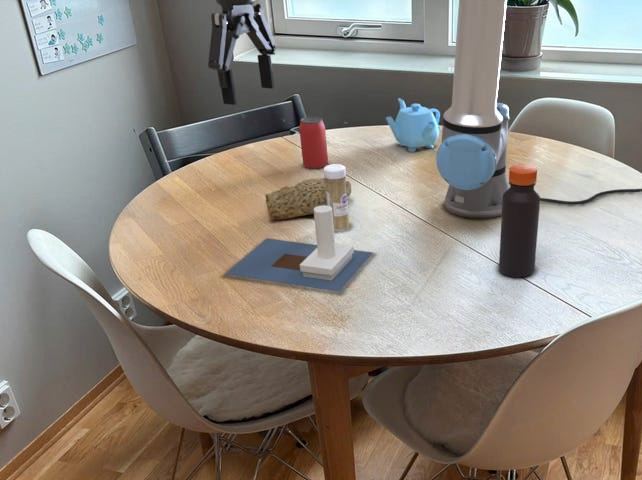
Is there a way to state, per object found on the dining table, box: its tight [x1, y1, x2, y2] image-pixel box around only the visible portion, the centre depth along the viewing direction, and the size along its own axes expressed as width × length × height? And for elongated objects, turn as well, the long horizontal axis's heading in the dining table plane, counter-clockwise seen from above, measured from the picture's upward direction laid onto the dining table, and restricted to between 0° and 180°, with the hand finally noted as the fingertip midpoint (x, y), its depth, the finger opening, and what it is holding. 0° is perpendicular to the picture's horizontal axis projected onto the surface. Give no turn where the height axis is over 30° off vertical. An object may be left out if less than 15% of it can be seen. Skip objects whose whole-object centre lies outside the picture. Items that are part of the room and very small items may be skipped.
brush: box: [300, 205, 355, 281], centre depth 137 cm, size 7×11×12 cm, turn 161°
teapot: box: [385, 97, 442, 153], centre depth 199 cm, size 15×14×11 cm
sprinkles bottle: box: [323, 163, 350, 231], centre depth 153 cm, size 5×5×13 cm
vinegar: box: [498, 164, 541, 279], centre depth 133 cm, size 7×7×20 cm
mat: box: [224, 238, 373, 293], centre depth 142 cm, size 24×17×1 cm
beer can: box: [299, 115, 329, 170], centre depth 187 cm, size 7×7×12 cm
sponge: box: [264, 177, 352, 221], centre depth 163 cm, size 13×8×20 cm
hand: (249, 95), depth 150 cm, fingers open, 13 cm apart
